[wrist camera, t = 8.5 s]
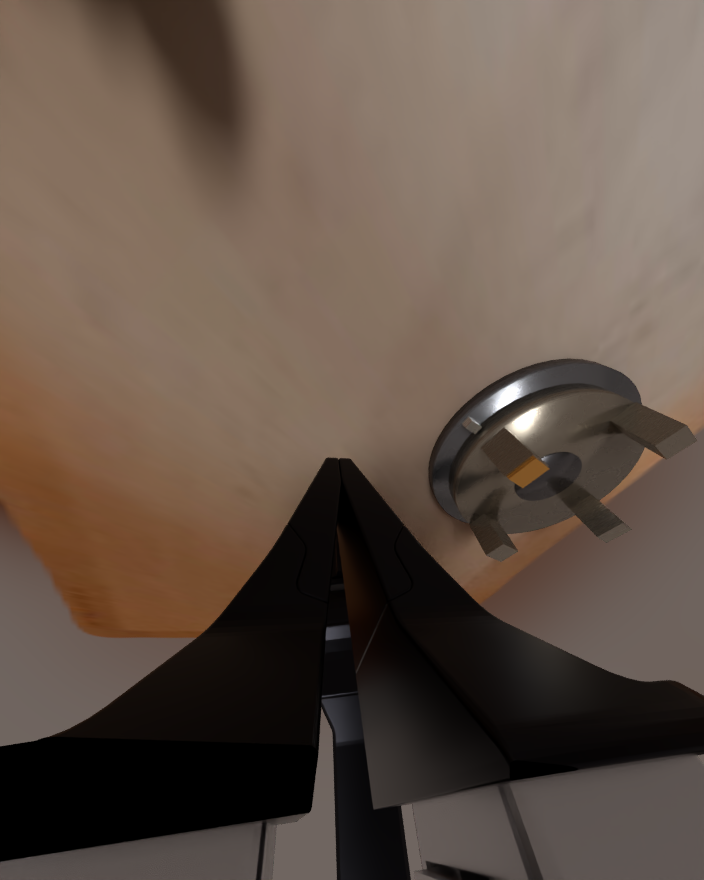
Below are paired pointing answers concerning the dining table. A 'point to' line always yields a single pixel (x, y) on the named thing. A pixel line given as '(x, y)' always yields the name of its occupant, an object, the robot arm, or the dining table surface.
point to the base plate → (506, 393)
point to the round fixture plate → (555, 462)
